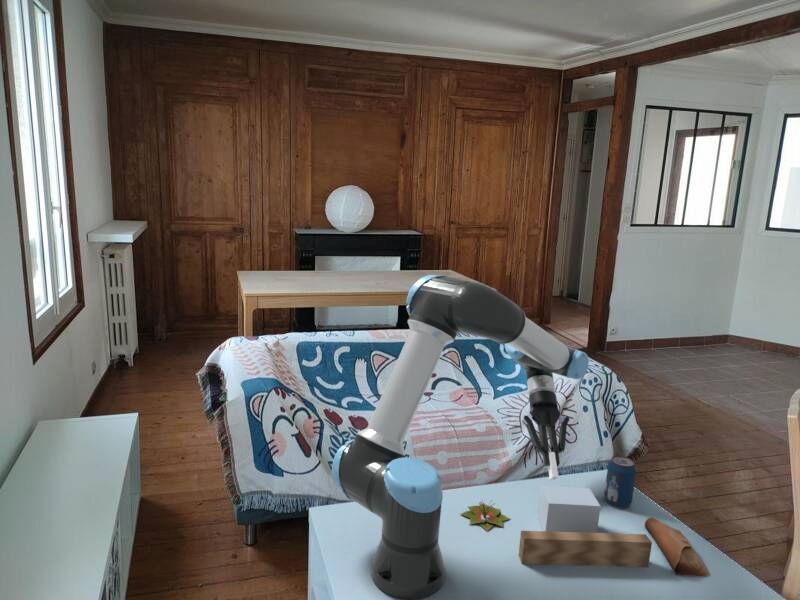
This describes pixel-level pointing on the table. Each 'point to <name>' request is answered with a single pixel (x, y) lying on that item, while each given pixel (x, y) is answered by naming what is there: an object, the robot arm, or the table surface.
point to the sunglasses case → (676, 549)
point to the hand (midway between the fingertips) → (553, 478)
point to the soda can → (620, 482)
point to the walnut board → (584, 548)
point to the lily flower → (485, 510)
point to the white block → (568, 510)
